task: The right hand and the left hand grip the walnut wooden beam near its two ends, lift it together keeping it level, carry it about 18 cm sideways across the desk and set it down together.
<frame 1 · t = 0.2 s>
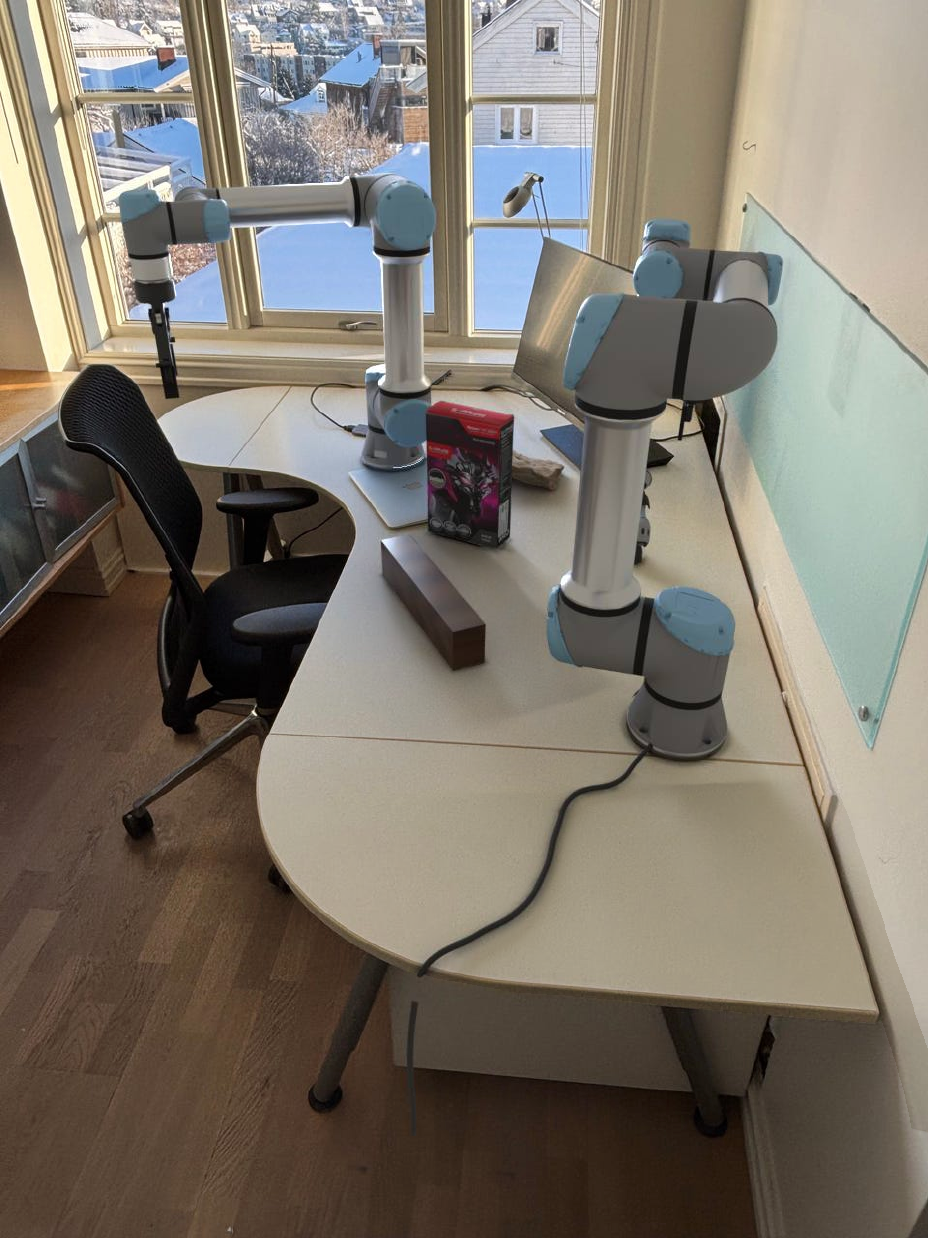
left hand: (171, 386, 189), 28 cm above the table, fingers open, 13 cm apart
right hand: (642, 433, 170), 28 cm above the table, fingers open, 13 cm apart
robot: (629, 555, 188), on the table
stone: (516, 477, 219), on the table
beam: (430, 616, 169), on the table
graphics card box: (468, 536, 195), on the table
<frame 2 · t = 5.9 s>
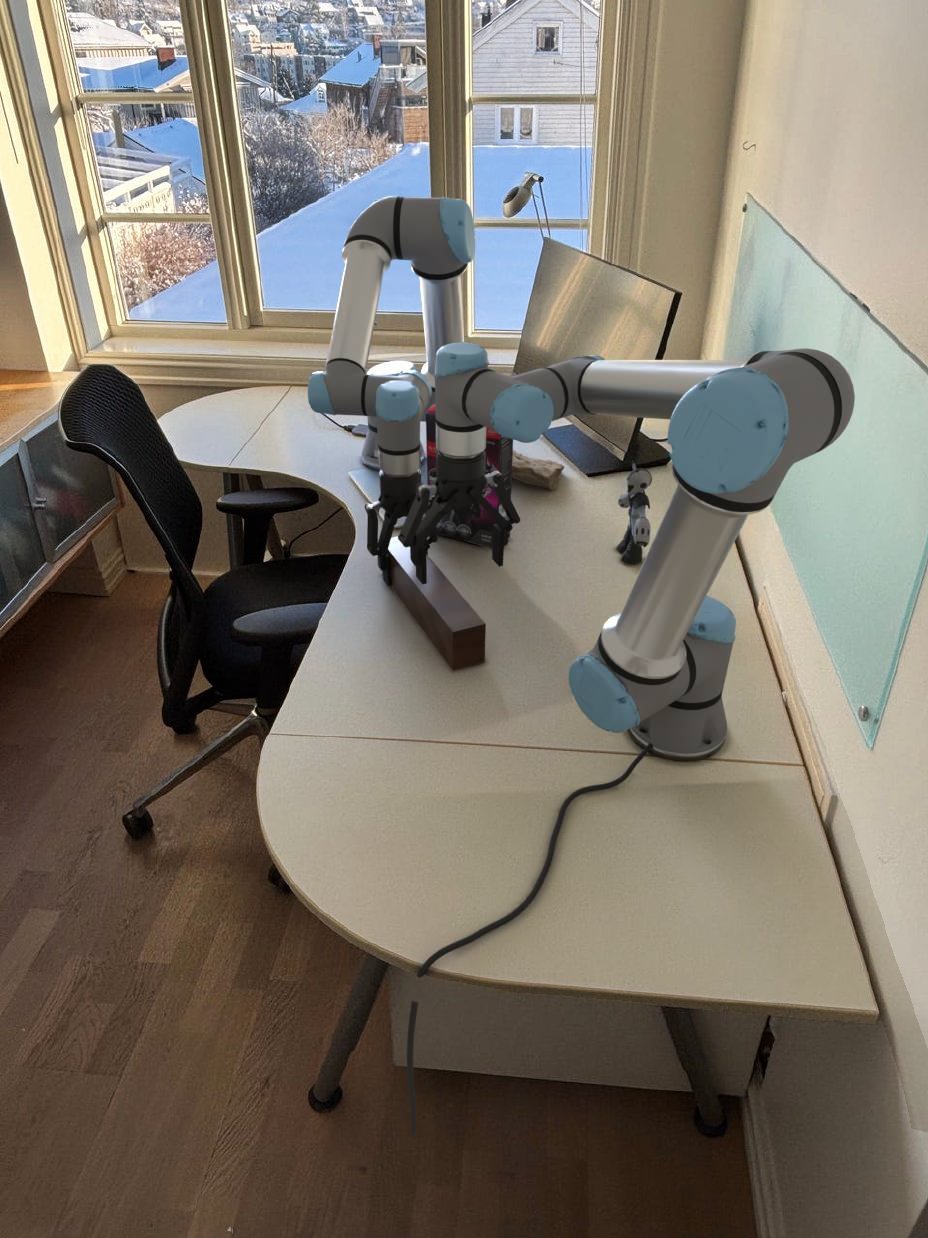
left hand: (403, 578, 179), 1 cm above the table, fingers closed on beam, 6 cm apart
right hand: (460, 571, 150), 17 cm above the table, fingers open, 13 cm apart
beam: (430, 616, 169), on the table, touching left hand
everything else where it was.
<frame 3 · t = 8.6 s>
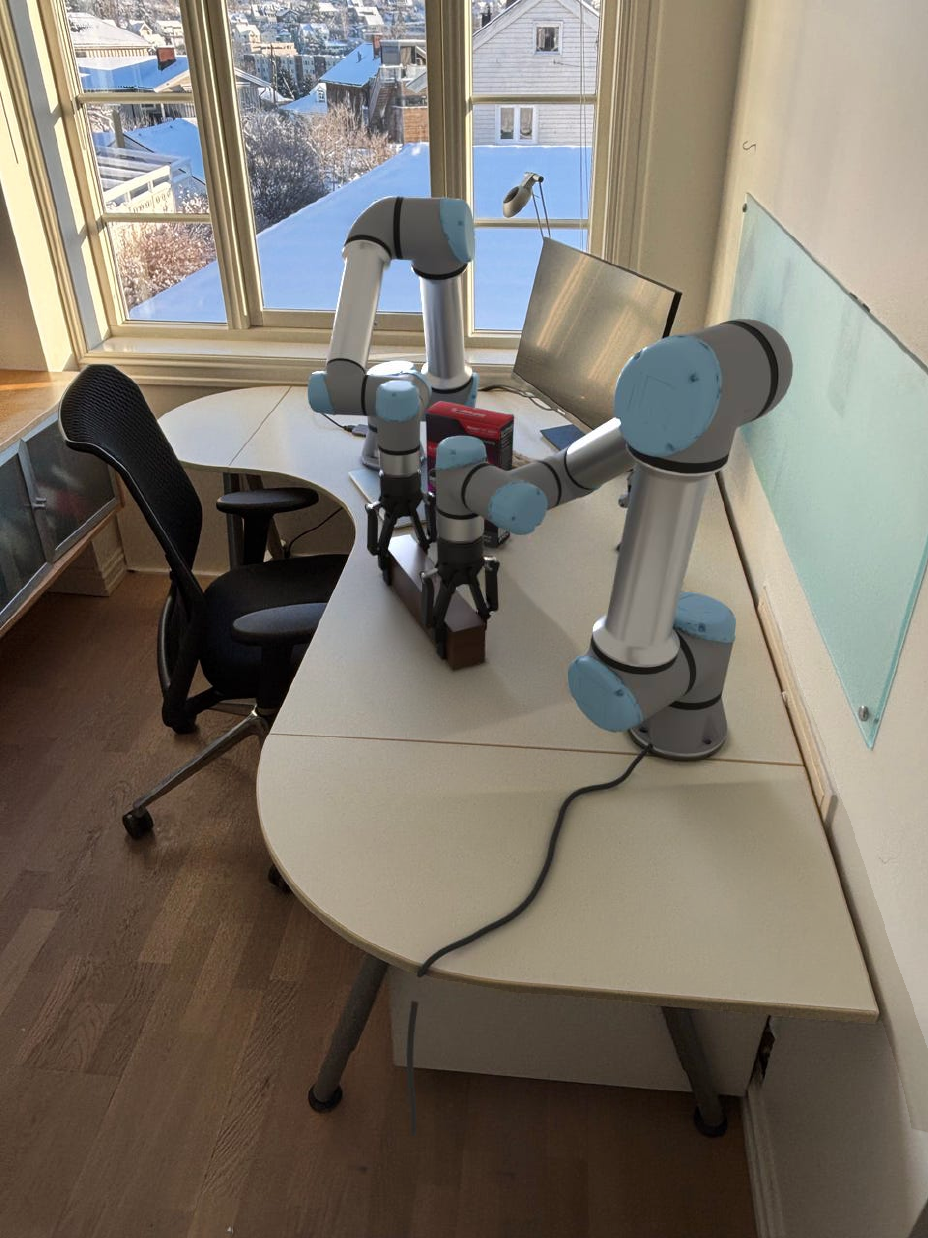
left hand: (403, 578, 179), 1 cm above the table, fingers closed on beam, 6 cm apart
right hand: (459, 651, 159), 1 cm above the table, fingers closed on beam, 6 cm apart
beam: (430, 616, 169), on the table, touching right hand, left hand
everything else where it was.
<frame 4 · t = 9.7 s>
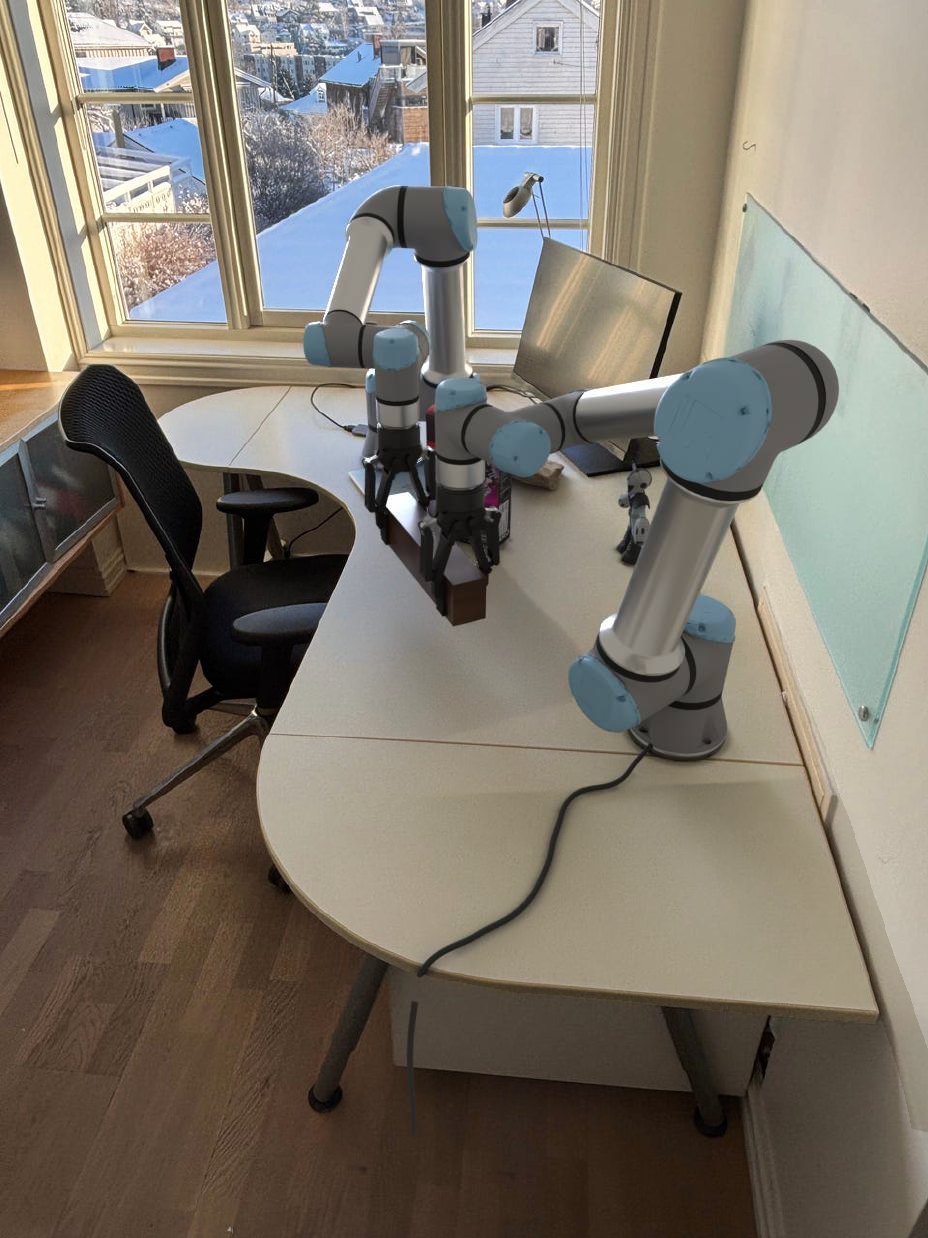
left hand: (402, 538, 174), 10 cm above the table, fingers closed on beam, 6 cm apart
right hand: (460, 607, 154), 10 cm above the table, fingers closed on beam, 6 cm apart
beam: (429, 574, 164), point 9 cm above the table, touching right hand, left hand
everything else where it was.
when the left hand's fingers open (2 cm above the table, at t = 13.5 s): beam drops 1 cm, on the table.
when the right hand's fingers open (2 cm above the table, at t = 13.5 s): beam drops 1 cm, on the table.
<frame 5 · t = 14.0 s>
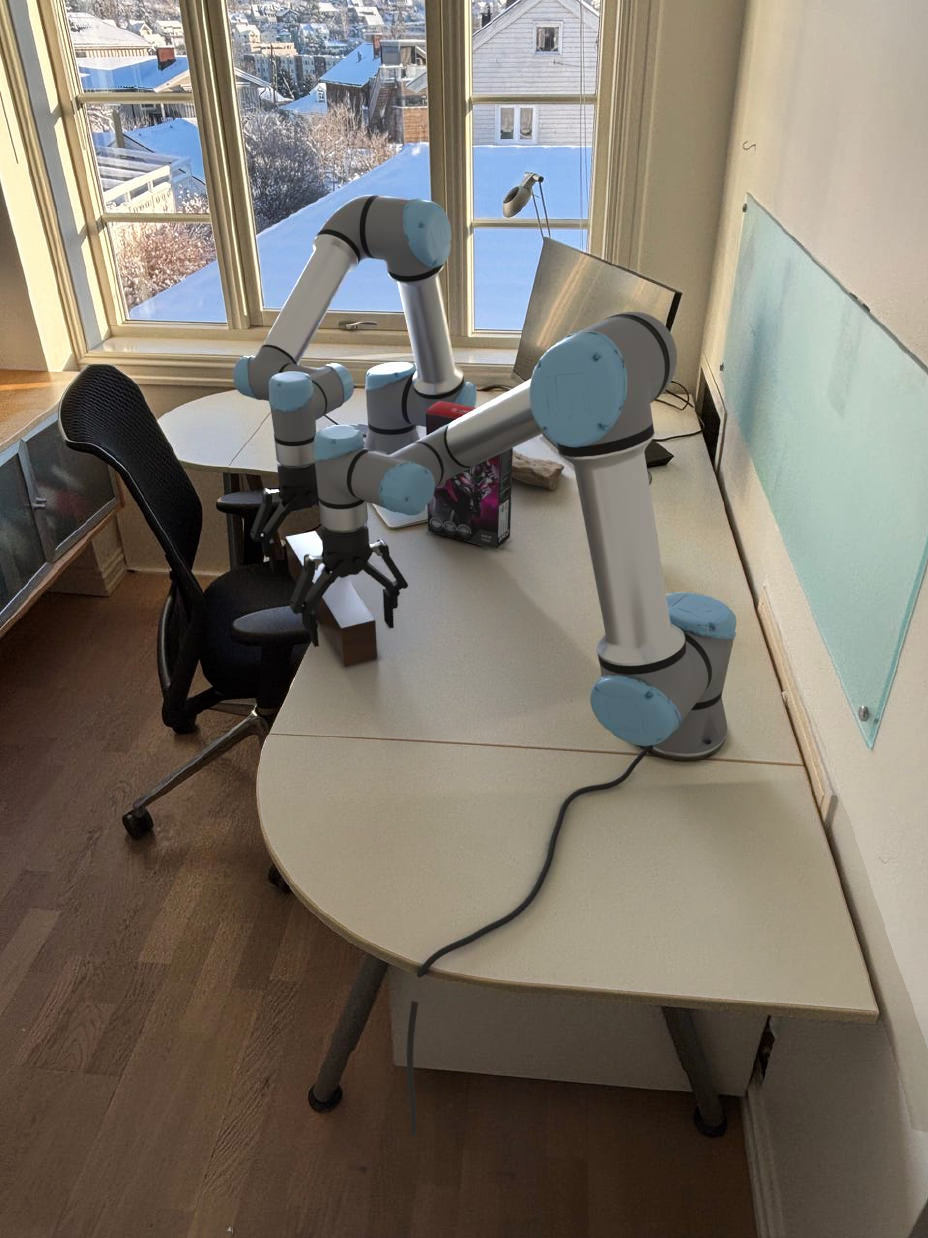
left hand: (308, 562, 178), 4 cm above the table, fingers open, 13 cm apart
right hand: (352, 633, 158), 4 cm above the table, fingers open, 13 cm apart
beam: (330, 612, 170), on the table
everything else where it was.
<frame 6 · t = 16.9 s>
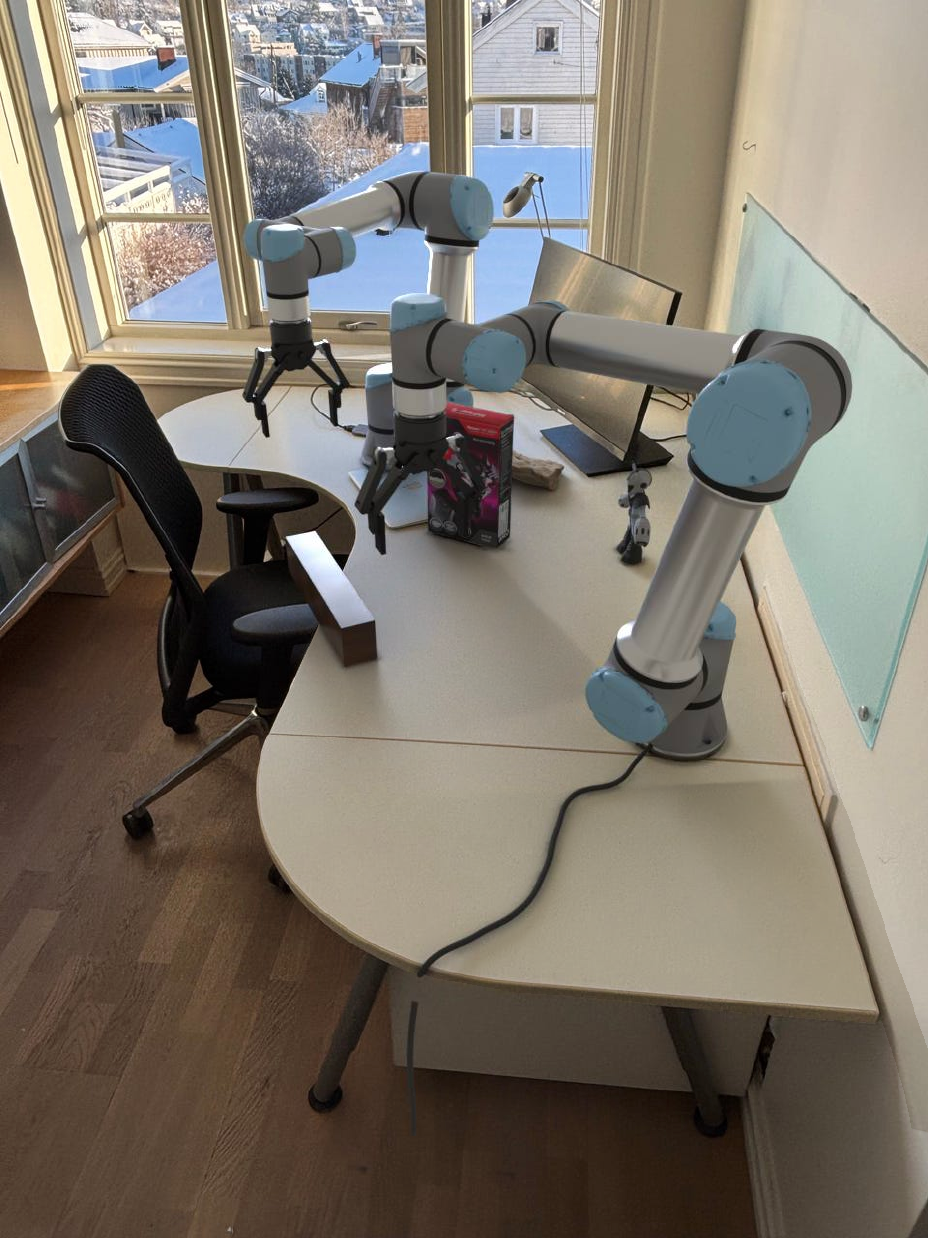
left hand: (300, 429, 178), 25 cm above the table, fingers open, 13 cm apart
right hand: (422, 541, 142), 25 cm above the table, fingers open, 13 cm apart
nothing on the table moved.
at the end: beam inside the target area (0.0 cm from its centre), on the table; both hands held the beam at the same time; beam never tilted more than 1° during the clip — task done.
